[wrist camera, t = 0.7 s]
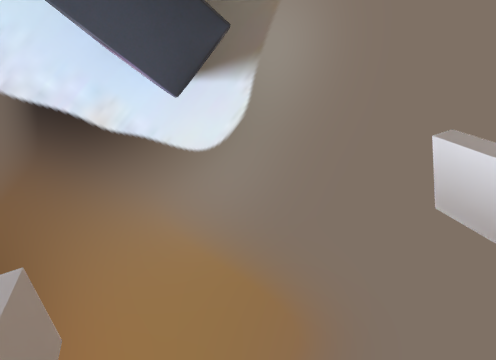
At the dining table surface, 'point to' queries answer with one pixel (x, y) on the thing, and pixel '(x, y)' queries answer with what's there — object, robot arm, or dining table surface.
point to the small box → (152, 34)
